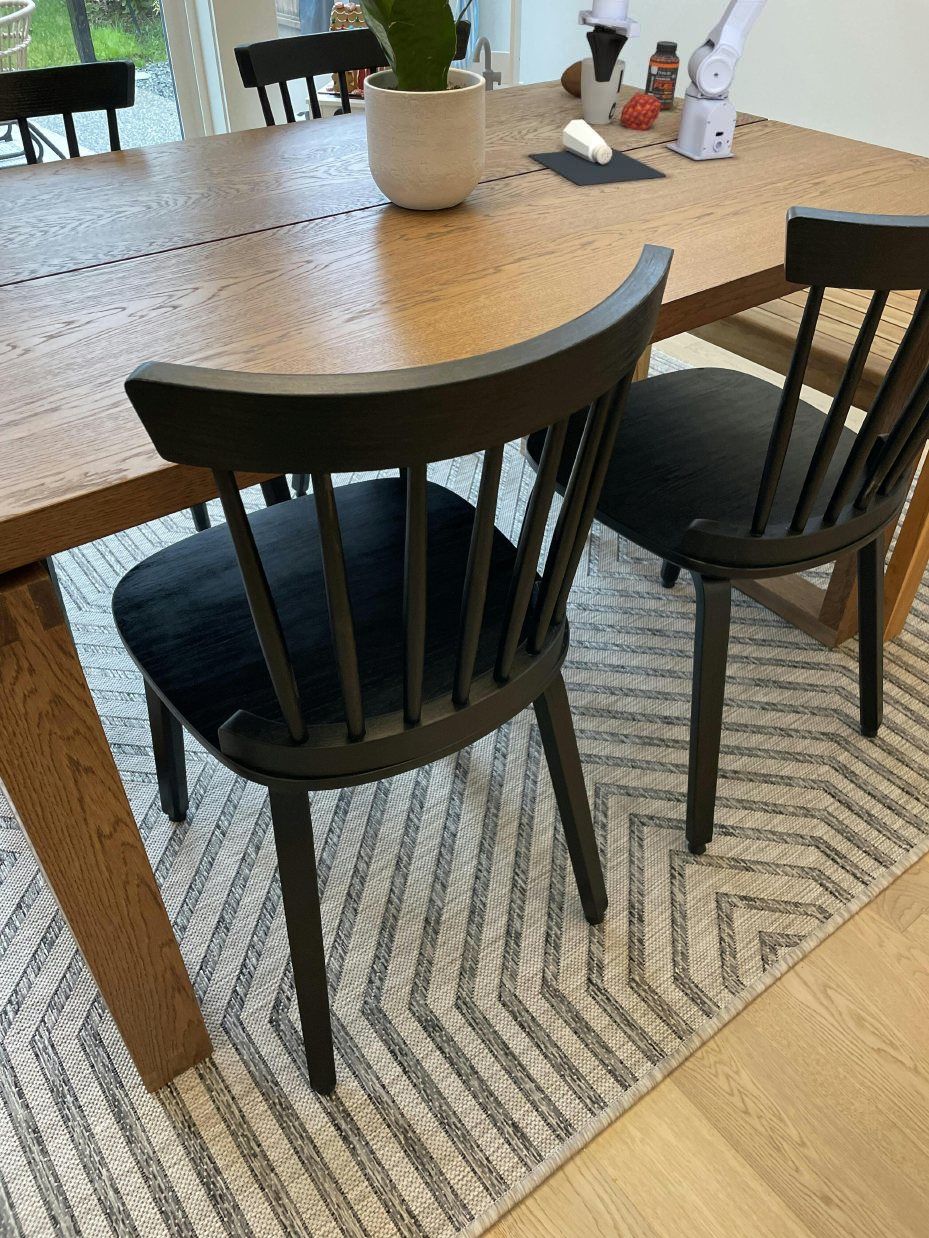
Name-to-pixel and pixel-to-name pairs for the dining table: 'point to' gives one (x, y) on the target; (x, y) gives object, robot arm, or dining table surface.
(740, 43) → the robot arm
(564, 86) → the potato
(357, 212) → the dining table surface
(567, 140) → the salt shaker
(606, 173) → the mat
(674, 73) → the supplement bottle
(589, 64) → the cup
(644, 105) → the decorative stone
